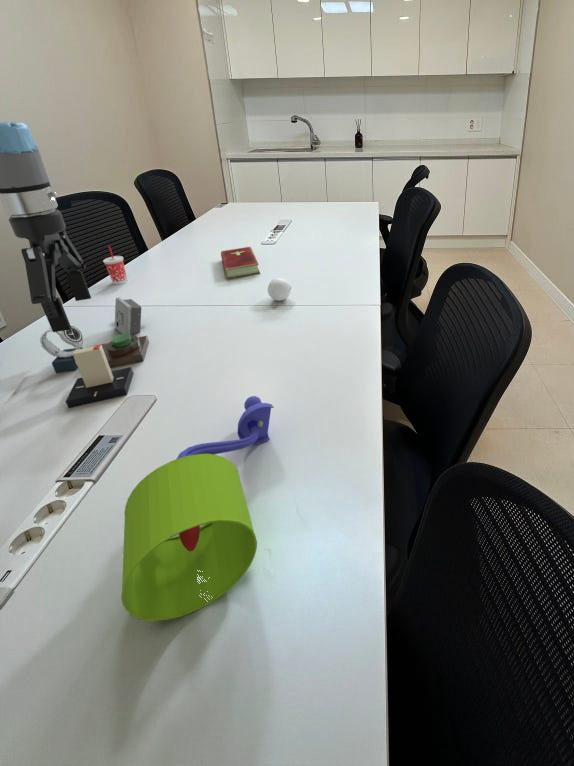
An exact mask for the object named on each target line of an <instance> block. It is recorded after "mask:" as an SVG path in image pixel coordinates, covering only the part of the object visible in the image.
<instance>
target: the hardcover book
mask: <svg viewBox="0 0 574 766" xmlns="http://www.w3.org/2000/svg"><path fill="white" fill-rule="evenodd" d="M220 257H221V261H222V266H223V270H224V274H225V277H226V278H225V279H227V280H232V279H233V280H234V279H237V278H243V277H250V276H253V275H259V274H261V272H260V269H259V262H258V259H257V257H256V255H255V252H254V251H253V248H252V246H245V247H239V248H233V249H227V250H221V251H220Z"/></svg>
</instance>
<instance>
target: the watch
mask: <svg viewBox="0 0 574 766" xmlns="http://www.w3.org/2000/svg"><path fill="white" fill-rule="evenodd" d="M51 332H53V331H52V329H51V326H49V327H48V328H47V329H46V330H45V331H44V332H43V333H42V334H41V336H40V337H39V341H40V345H41V347H42V348H43V350H44V351H46V352H47V353H48V354H50V355H51V356H53V357H55V358H54V359H53V361H52V362H51V366H52V367H53V369H54V372H55V374H62V373H69V372H76V371H77V370H79V369H78V366H77V364H76V361H75V359H74V356H73V353H74V351H75V350H78V349H84V347H83V344H84V339H83V338H84V337H83V332H82V331H81V330H80V329H79V328H78V327H76V326H74V325H71V329H70V330H64V331H58V332H55V334H56V335H58V336H59V338H60V339H61V340H62V341H63V343H65V344H67V345H70V346H71V347H73V348H66V349H63V350H61V348H59V347H58V346H56V345H55V344H54V343H53V342H52V341H51V340H49V338H48V337H47V335H48V333H51Z"/></svg>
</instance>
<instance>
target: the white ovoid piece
mask: <svg viewBox="0 0 574 766" xmlns="http://www.w3.org/2000/svg"><path fill="white" fill-rule="evenodd" d="M267 285H268V286H267V294H268V296H269V297H270V298H271V299H272V300H274V301H277V302H280V301H281V302H282V301H284V300H286V299H287V298H288V297H289V296H290V295H291V292H292V291H291V290H292V287H291V284H290V282H289V281H288V280H287V279H285V278H282V277H276V278H273V279H272V280H271V281H270V282H269V283H268V284H267Z"/></svg>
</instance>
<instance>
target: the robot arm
mask: <svg viewBox="0 0 574 766" xmlns="http://www.w3.org/2000/svg"><path fill="white" fill-rule="evenodd" d="M41 156H42V155H41V153H40V150H39V146H38V143H37V142H36V141H35V139H34V136H33V133H32V132H31V129H30V127H29V126H28V125H27V124H26V123H24V122H22V121H5V122H4V121H3V122H1V121H0V203H1V206H2V209H3V211H4V213H5V215H8V216H10V217H9V218H8V222H9V224H10V227H11V229H12V231H13V234H14V236H15V237H16V238H18V239H26V240H27V241H28V243H29V247H26V248H25V247H24V248H21V250H20V251H21V255H22V258H23V260H24V265H25V271H26V277H27V282H28V289H29V290H28V291H29V296H30V302H31V304H32V305H38V304H40V305H41V307H42V310H43V312H44V314H45V317H46V319H47V322H48V324H49V327H51V329H52V331H51V332H52V333H56V332H58V331H64V330H70V329H71V326H72V325H71V323H70V321H69V318H68V315H67V313H66V310H65V308H64V306H63V304H62V301H61V298H60V297H57V292H56V291H57V289H56V288H57V287H56V267H57V266H58V264H59V265H60V266H61V267H62V268H63V269H64V270H65V271H66V273H65V276H66V278H67V282H68V284H69V286H70V290H71V292H72V294H73V297H74V300H75V302H79V301H86V300H91V298H92V296H91V293H90V290H89V288H88V284H87V281H86V280H85V276H84V273H83V271H82V270H85V269H86V268H87V267H86V264H85V263H84V260H83V259H82V257H81V255H80V254H79V252H78V250H77V249H76V247H75V246H74V245H73V242H72V241H71V240H70V238H69V237H68V234H67V232H66V229H67V226H66V223H65V221H64V217H63V215H62V211H61V210H59V209H58V206H59V204H58V202H57V197H58V193H57V192H56V191H53V188H52V186H51V183H50V178H49V176H48V173H47V170H46V168H45V163H44V161H43V159H42V157H41Z"/></svg>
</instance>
